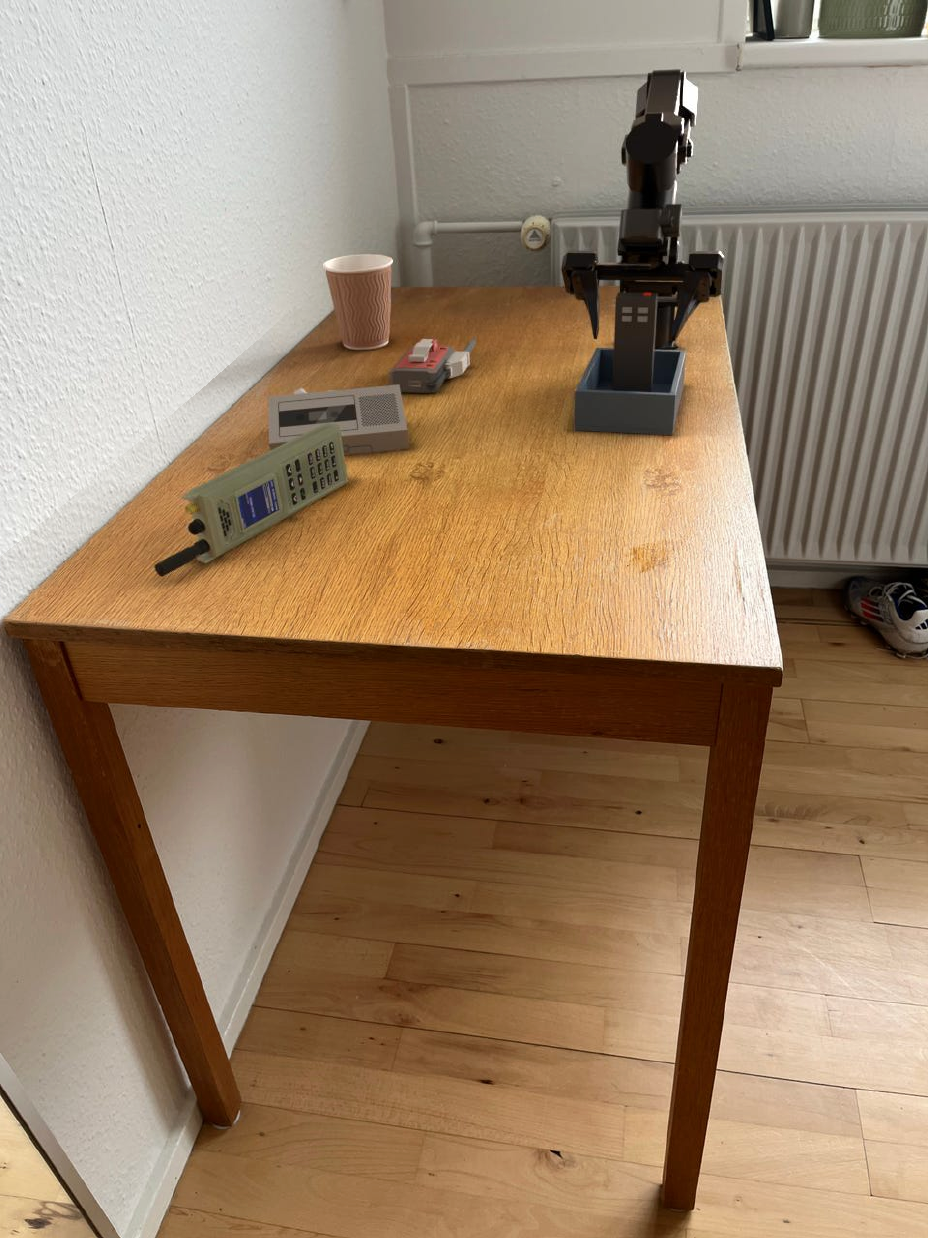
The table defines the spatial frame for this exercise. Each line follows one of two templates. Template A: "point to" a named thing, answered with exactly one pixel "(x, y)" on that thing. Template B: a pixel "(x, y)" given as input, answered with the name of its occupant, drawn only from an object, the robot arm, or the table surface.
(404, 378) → the walkie-talkie
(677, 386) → the tote
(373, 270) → the coffee cup
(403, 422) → the cassette player
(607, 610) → the table surface
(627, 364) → the block
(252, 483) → the handheld radio
